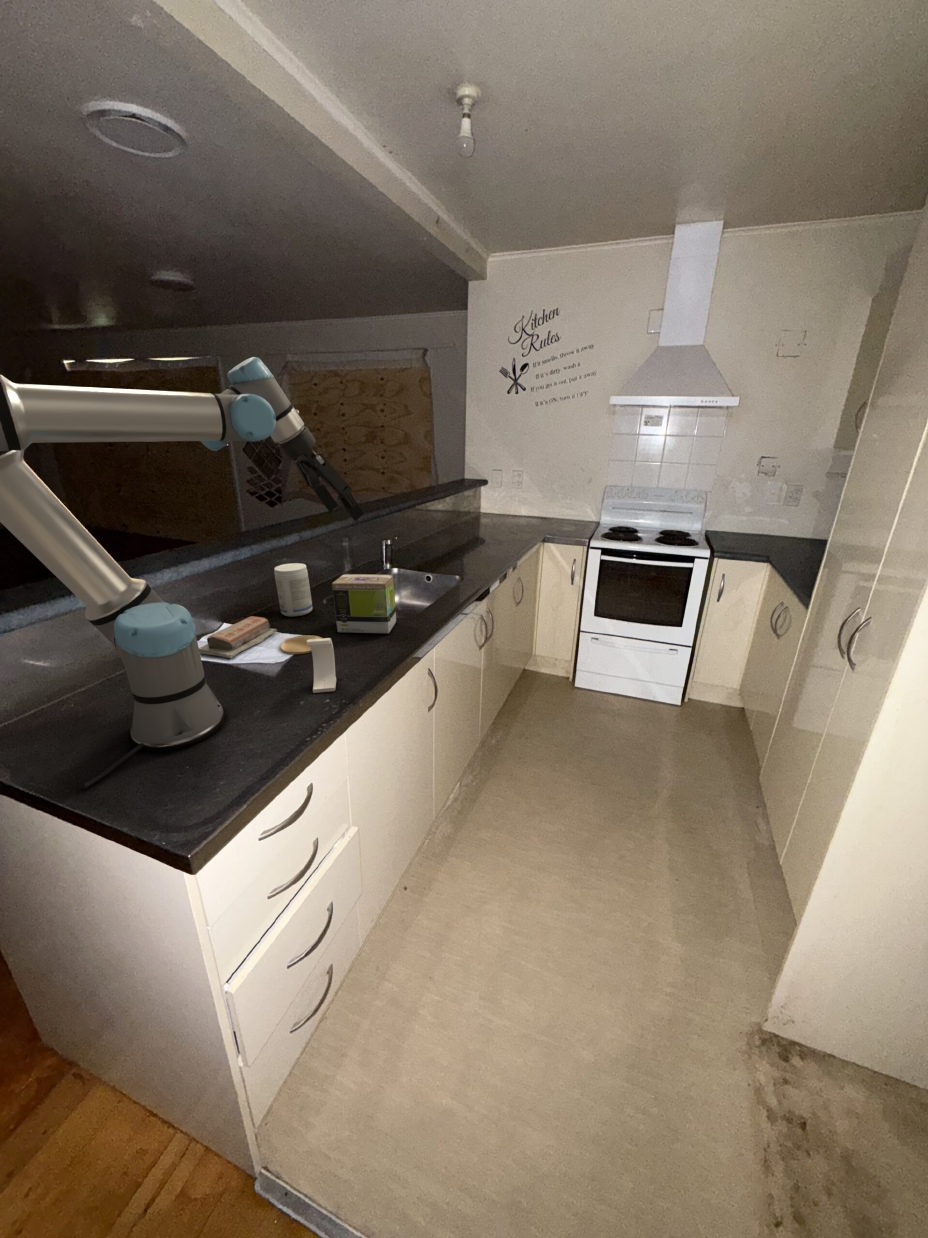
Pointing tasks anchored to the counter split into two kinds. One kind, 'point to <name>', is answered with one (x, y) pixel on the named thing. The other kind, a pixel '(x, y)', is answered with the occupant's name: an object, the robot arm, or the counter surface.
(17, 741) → the counter surface
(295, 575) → the supplement tub
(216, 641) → the packaged product
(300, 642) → the birch coaster
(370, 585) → the tea box
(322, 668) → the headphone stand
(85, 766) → the counter surface
